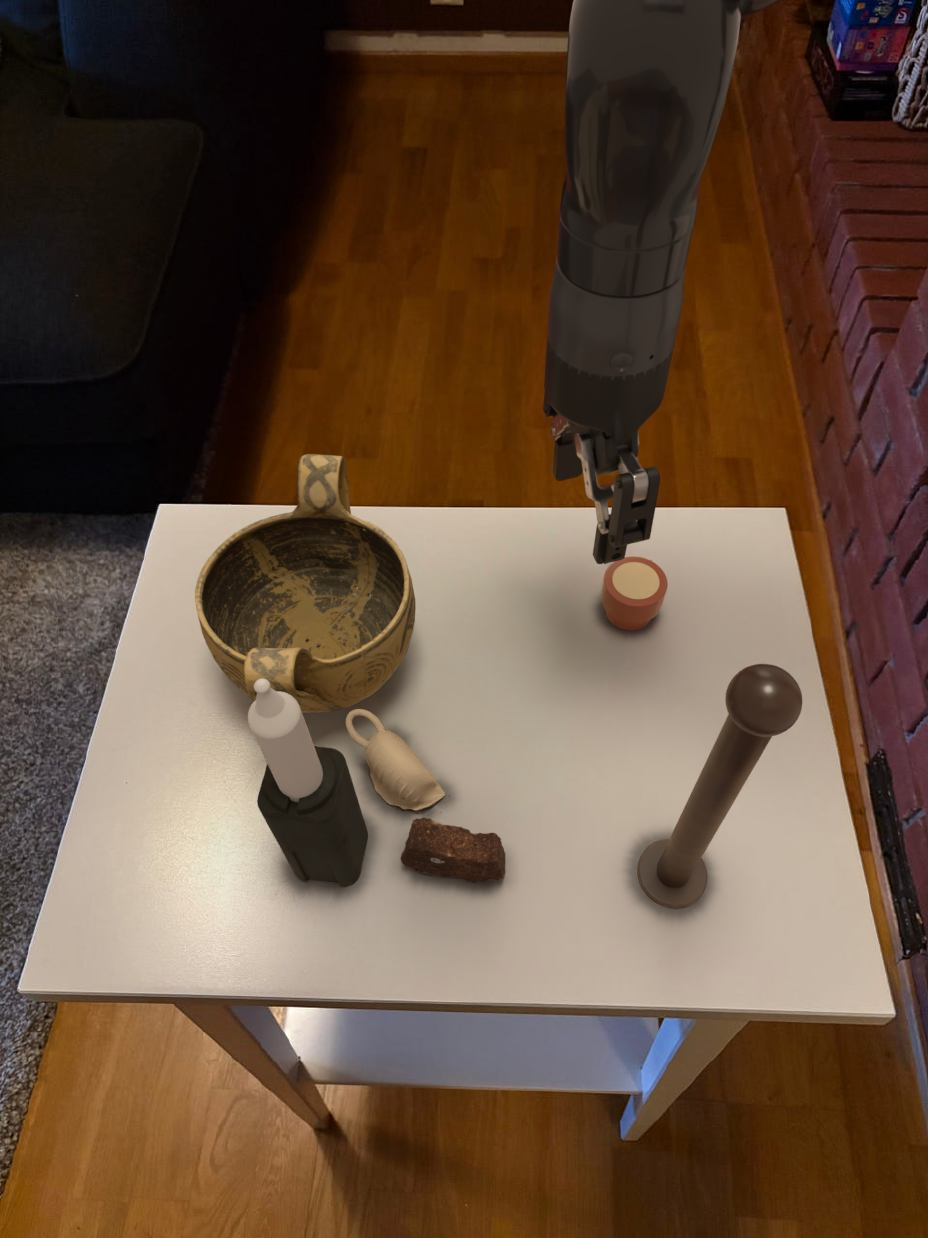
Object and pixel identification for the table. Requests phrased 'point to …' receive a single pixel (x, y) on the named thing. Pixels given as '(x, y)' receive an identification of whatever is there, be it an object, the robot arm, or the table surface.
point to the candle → (306, 793)
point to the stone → (453, 852)
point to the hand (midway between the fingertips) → (586, 515)
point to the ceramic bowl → (309, 598)
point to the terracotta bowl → (633, 592)
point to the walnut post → (720, 782)
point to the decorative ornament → (396, 767)
